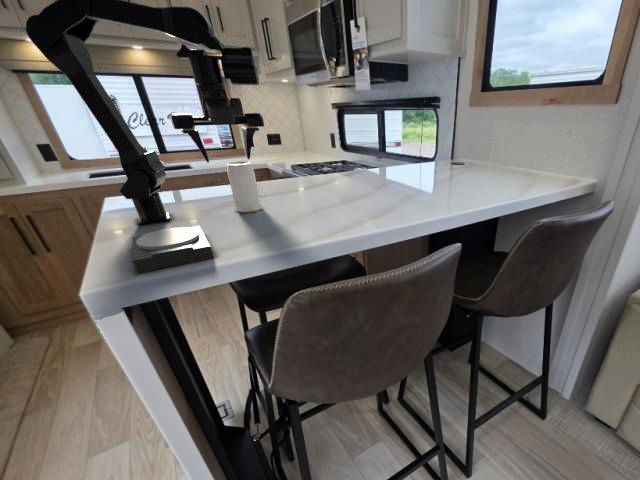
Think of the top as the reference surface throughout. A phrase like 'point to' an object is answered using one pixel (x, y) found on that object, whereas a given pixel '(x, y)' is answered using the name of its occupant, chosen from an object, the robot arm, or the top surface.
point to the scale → (170, 248)
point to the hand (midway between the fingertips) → (228, 160)
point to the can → (244, 187)
